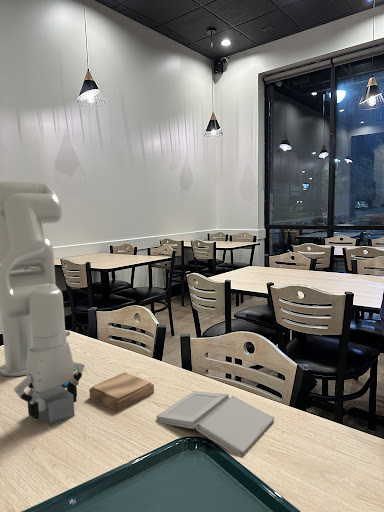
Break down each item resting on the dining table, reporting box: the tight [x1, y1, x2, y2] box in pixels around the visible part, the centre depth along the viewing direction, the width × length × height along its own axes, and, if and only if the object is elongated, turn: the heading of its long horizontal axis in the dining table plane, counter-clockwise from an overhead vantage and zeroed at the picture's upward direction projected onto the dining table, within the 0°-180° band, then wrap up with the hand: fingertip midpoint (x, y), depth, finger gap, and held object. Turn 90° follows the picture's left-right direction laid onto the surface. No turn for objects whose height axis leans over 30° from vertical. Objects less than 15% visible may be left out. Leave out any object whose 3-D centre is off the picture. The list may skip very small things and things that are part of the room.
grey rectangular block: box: [36, 385, 76, 427], centre depth 86 cm, size 9×6×6 cm, turn 44°
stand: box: [88, 372, 155, 413], centre depth 94 cm, size 12×12×3 cm
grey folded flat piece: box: [155, 390, 275, 456], centre depth 81 cm, size 23×15×4 cm, turn 53°
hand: (54, 408), depth 86 cm, fingers open, 9 cm apart
